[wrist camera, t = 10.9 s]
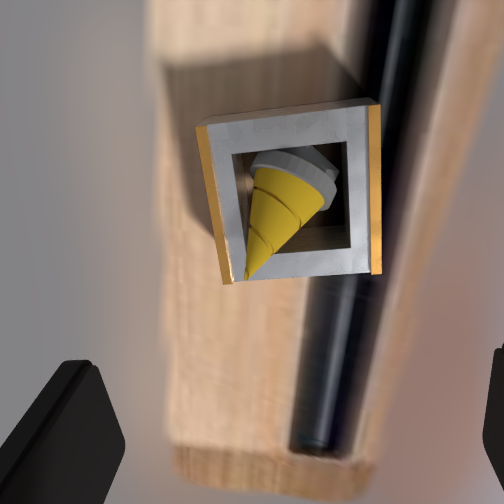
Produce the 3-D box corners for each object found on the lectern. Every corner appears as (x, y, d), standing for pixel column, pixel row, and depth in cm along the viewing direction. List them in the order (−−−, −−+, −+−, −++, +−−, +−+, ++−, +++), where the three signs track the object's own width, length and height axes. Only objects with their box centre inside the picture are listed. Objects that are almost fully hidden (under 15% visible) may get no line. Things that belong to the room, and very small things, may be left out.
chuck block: (209, 116, 28) (194, 127, 24) (368, 96, 26) (380, 104, 22) (232, 256, 32) (223, 284, 28) (370, 245, 30) (381, 273, 26)
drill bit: (351, 169, 29) (289, 305, 27) (279, 143, 30) (215, 271, 28) (359, 127, 23) (282, 292, 22) (271, 98, 25) (192, 251, 23)
